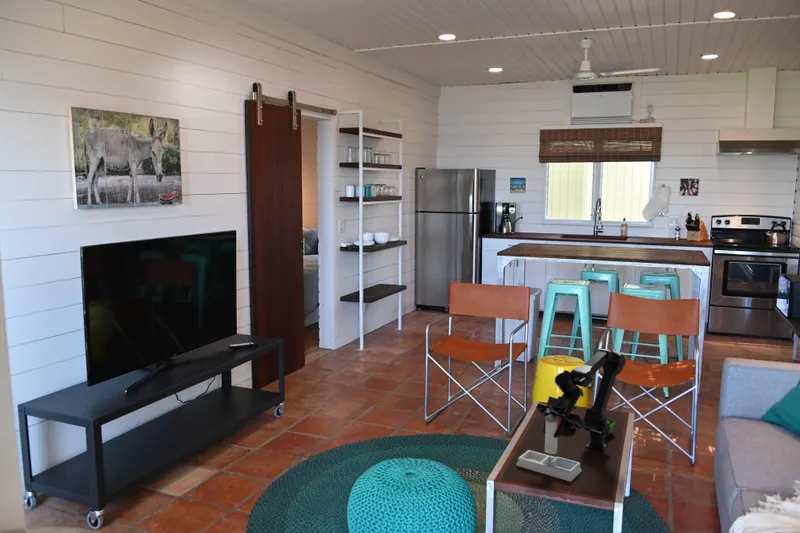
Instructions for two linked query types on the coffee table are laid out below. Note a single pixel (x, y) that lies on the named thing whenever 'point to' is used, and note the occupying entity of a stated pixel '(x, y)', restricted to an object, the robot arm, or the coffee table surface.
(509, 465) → the coffee table surface
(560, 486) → the coffee table surface
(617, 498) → the coffee table surface
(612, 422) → the fruit basket
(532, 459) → the compartment tray
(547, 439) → the plug post
